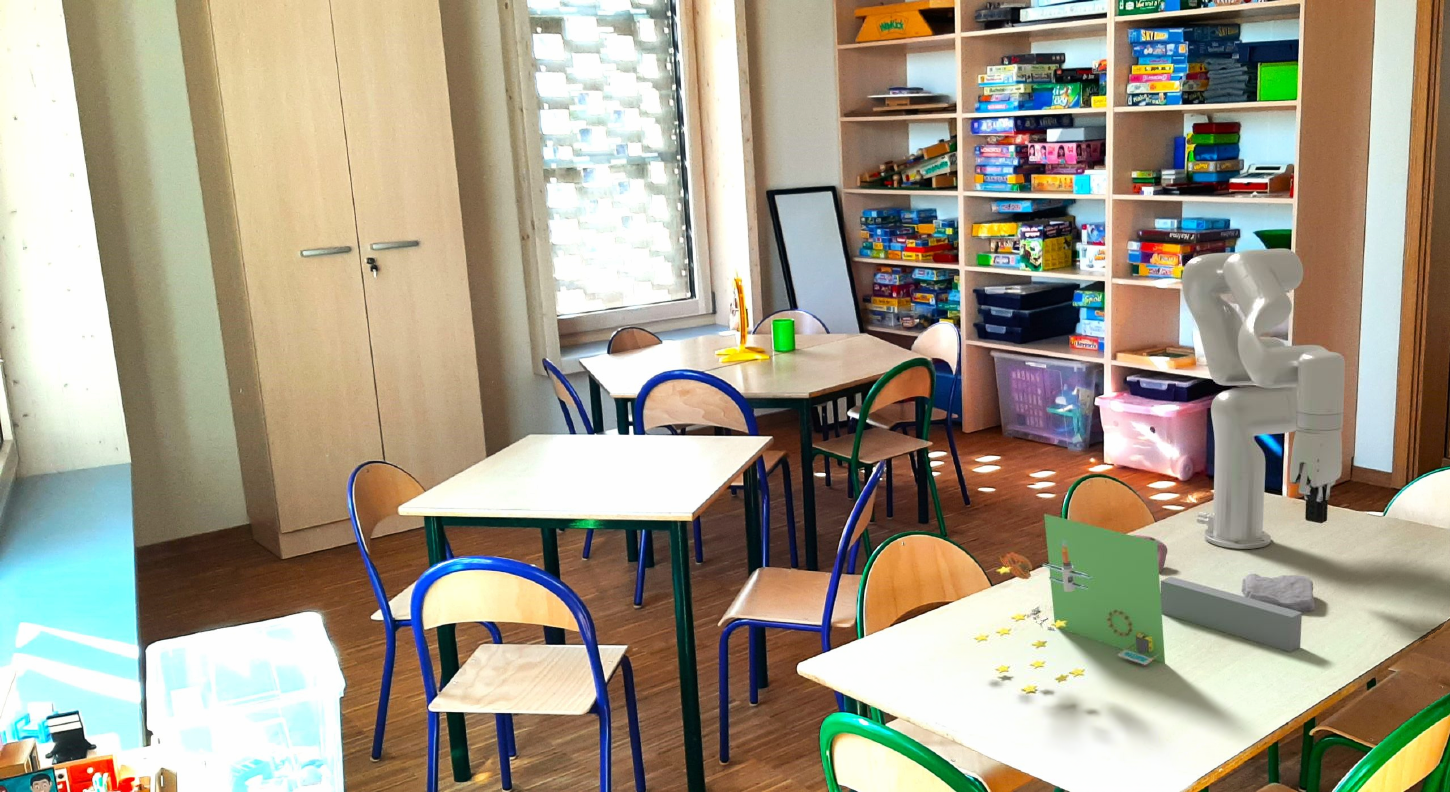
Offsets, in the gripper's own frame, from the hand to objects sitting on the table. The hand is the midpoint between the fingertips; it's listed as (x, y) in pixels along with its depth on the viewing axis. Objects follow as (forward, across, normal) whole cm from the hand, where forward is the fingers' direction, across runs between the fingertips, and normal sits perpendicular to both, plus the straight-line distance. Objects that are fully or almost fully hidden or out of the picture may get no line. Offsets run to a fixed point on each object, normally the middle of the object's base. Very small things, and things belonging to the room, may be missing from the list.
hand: (1316, 520), depth 227 cm
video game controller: (+13, +10, -30) cm, 34 cm away
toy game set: (+14, +58, -11) cm, 61 cm away
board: (+14, +27, -1) cm, 30 cm away
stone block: (+14, +9, -2) cm, 17 cm away
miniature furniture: (+14, +36, -26) cm, 47 cm away
